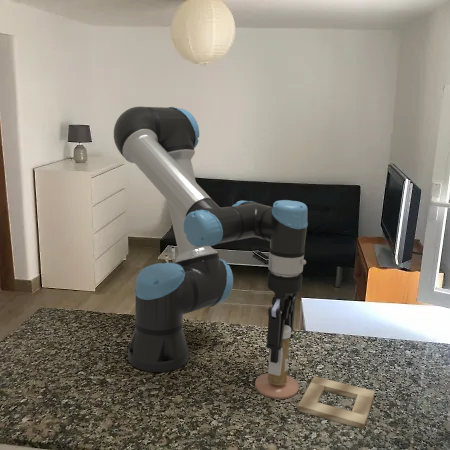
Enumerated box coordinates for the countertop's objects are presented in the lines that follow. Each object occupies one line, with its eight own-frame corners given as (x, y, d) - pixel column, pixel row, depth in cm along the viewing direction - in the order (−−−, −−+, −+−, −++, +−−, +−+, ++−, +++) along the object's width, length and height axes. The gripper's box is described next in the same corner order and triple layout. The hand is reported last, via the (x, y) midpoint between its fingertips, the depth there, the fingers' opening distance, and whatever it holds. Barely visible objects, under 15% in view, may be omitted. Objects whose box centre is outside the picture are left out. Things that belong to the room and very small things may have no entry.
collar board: (297, 410, 112) (297, 405, 112) (314, 380, 124) (314, 376, 124) (363, 429, 106) (364, 424, 106) (374, 396, 119) (374, 391, 119)
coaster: (248, 391, 118) (248, 388, 118) (263, 372, 127) (263, 369, 127) (291, 403, 114) (291, 400, 114) (303, 382, 123) (303, 379, 123)
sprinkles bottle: (291, 383, 120) (295, 328, 117) (275, 388, 117) (279, 333, 114) (278, 374, 124) (282, 321, 120) (263, 379, 121) (266, 325, 118)
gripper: (290, 286, 105) (281, 391, 111) (312, 264, 121) (304, 356, 126) (255, 280, 108) (248, 382, 113) (281, 259, 124) (274, 349, 129)
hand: (277, 368), depth 120 cm, fingers closed on sprinkles bottle, 4 cm apart
